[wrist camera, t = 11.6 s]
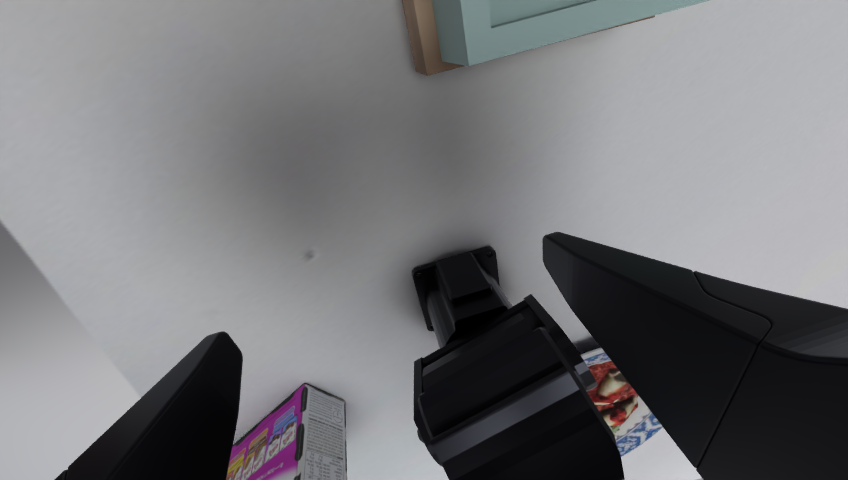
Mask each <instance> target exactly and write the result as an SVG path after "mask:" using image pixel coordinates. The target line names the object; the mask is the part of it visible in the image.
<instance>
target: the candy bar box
mask: <svg viewBox="0 0 848 480" xmlns="http://www.w3.org/2000/svg"><path fill="white" fill-rule="evenodd" d="M226 480H347V458H346V413H345V401H343V400H342V399H340V398H338V397H336V396H334V395H330V394H328V393H325V392H323V391H321V390H319V389H316V388H314V387H312V386H309V385H307V384H304V385H302V386H301V387H300V388H299V389H298V390H296V391H295V392H294V393H293V394H292V395H291V396H290V397H289V398H287V399H286V400H285V401H284V402H283V403H282V404H281V405H280V406H278V407H277V408H276V409H275V410H274V411H273V412H272V413H271V414H270V415H268V416H267V417H266V418H265V419H264V420H263V421H262V422H261V423H259V424H258V425H257V426H256V427H255V428H254V429H253V430H252V431H250V432H249V433H248V434H247V435H246V436H245V437H243V438H242V439H241V440H240V441H239V442H238V443H237V444H236V445H234V446H233V447H232V451H231V457H230V462H229V467H228V473H227V478H226Z"/></svg>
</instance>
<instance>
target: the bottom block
mask: <svg viewBox="0 0 848 480" xmlns="http://www.w3.org/2000/svg"><path fill="white" fill-rule="evenodd" d="M402 2H403V7H404V12H405V17H406V22H407V27H408V32H409V38H410V43H411V48H412V53H413V58H414V63H415V68H416V71H417V72H419V73H422V74H425V75H431V74H435V73H439V72H443V71H447V70H450V69H454V68H458V67H462V66H465V65H459V64H454V63H448V62H442V58H441V52H440V46H439V40H438V35H437V29H436V23H435V17H434V11H433V5H432V0H402ZM653 17H655V15H654V16H651V17H647V18H643V19H640V20H636V21H632V22H629V23H625V24H621V25H618V26H622V25H626V24H630V23H633V22H637V21H641V20H645V19H649V18H653ZM618 26H614V27H618ZM614 27H610V28H614ZM610 28H607V29H610ZM603 30H606V29H603ZM599 31H602V30H599ZM596 32H598V31H596ZM592 33H594V32H592ZM588 34H591V33H588ZM585 35H587V34H585ZM581 36H583V35H581ZM577 37H579V36H577ZM574 38H575V37H574ZM570 39H571V38H570Z"/></svg>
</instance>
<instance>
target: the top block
mask: <svg viewBox="0 0 848 480" xmlns="http://www.w3.org/2000/svg"><path fill="white" fill-rule="evenodd" d="M705 1H709V0H432V5H433V11H434V17H435V23H436V29H437V35H438V40H439V46H440V52H441V58H442V62H448V63H454V64H459V65H465V66H471V65H475V64H479V63H482V62H486V61H490V60H493V59H497V58H501V57H504V56H508V55H512V54H515V53H519V52H523V51H526V50H530V49H534V48H537V47H541V46H545V45H548V44H552V43H556V42H559V41H563V40H567V39H570V38H574V37H577V36H581V35H585V34H588V33H592V32H596V31H599V30H603V29H607V28H610V27H614V26H618V25H621V24H625V23H629V22H632V21H636V20H640V19H643V18H647V17H651V16H654V15H658V14H662V13H665V12H669V11H673V10H676V9H680V8H684V7H687V6H691V5H694V4H698V3H702V2H705Z"/></svg>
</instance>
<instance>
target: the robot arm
mask: <svg viewBox="0 0 848 480" xmlns="http://www.w3.org/2000/svg"><path fill="white" fill-rule="evenodd" d="M489 252H491V253H490V254H489V255H487V253H489ZM543 262H544V265H545V267H546V269H547V270H548V272H549V274H550V275H551V277H552V279H553V280H554V282H555V284H556V285H557V287H558V289H559V290H560V292H561V293H562V295H563V297H564V298H565V300H566V302H567V303H568V305H569V306H570V308H571V309H572V311H573V312H574V313H575V315H576V316H577V317H578V319H579V320H580V321H581V322H582V324H583V325H584V326H585V328H586V329H587V330H588V331H589V333H590V334H591V335H592V337H593V338H594V339H595V340H596V342H597V343H598V344H599V345H600V347H601V348H602V349H603V351H604V352H605V353H606V354H607V356H608V357H609V358H610V360H611V361H612V362H613V363H614V365H615V366H616V367H617V369H618V370H619V371H620V372H621V374H622V375H623V376H624V378H625V379H626V380H627V381H628V383H629V384H630V385H631V387H632V388H633V389H634V390H635V392H636V393H637V394H638V396H639V397H640V398H641V399H642V401H643V402H644V403H645V405H646V406H647V407H648V408H649V410H650V411H651V412H652V413H653V415H654V416H655V417H656V419H657V420H658V421H659V422H660V424H661V425H662V426H663V428H664V429H665V430H666V431H667V433H668V434H669V435H670V437H671V438H672V439H673V440H674V442H675V443H676V444H677V446H678V447H679V448H680V449H681V451H682V452H683V453H684V455H685V456H686V457H687V458H688V460H689V461H690V462H691V464H692V465H693V466H694V467H695V468H697V469H696V470H697V472H698V473H699V474H700V475H701V477H702V478H703V479H704V480H848V309H846V308H842V307H837V306H833V305H829V304H824V303H820V302H816V301H811V300H807V299H803V298H798V297H794V296H790V295H785V294H781V293H777V292H773V291H768V290H764V289H760V288H756V287H752V286H748V285H744V284H740V283H736V282H732V281H729V280H725V279H721V278H718V277H714V276H711V275H707V274H704V273H700V272H697V271H694V272H693V271H692V270H690V269H686V268H683V267H679V266H676V265H672V264H669V263H665V262H662V261H658V260H655V259H651V258H648V257H644V256H641V255H637V254H634V253H630V252H627V251H623V250H620V249H616V248H613V247H609V246H606V245H603V244H599V243H596V242H592V241H589V240H585V239H582V238H578V237H575V236H571V235H568V234H564V233H561V232H554V233H551V234H548V235H545V236H544V237H543ZM418 273H422V274H421V275H418V276H417V274H418ZM412 276H413V280H414V283H415V287H416V290H417V294H418V297H419V301H420V304H421V308H422V311H423V315H424V318H425V322H426V325H427V329H428V330H429V331H435V334H436V337H437V340H438V344H439V347H440V349H438V350H437V351H435V352H433V353H431V354H430V355H428V356H426V357H425V358H420V359H418V360H416V361H414V421H415V424H416V426H417V428H418V431H417V433H418V437H419V439H420V440H421V441H422V442H423V443H425V445H426V447H427V449H428V451H429V452H430V454H431V456H432V457H433V458H434V460H435V461H436V462H437V463H438V464H439V465H440V466H442V467H443V468H444V470H445V472H446V474H447V476H448V478H449V480H624V473H623V467H622V461H621V456H620V452H619V450H618V448H617V446H616V440H615V436H614V434H613V432H612V430H611V429H610V427H609V426H608V424H607V423H606V421H605V419H604V418H603V416H602V415H601V413H600V412H599V410H598V409H597V407H596V406H595V404H594V402H593V401H592V399H591V398H590V396H589V395H588V393H587V391H590V390H591V389H593V388H595V387H597V386H598V385H597V382H596V380H595V378H594V376H593V374H592V373H591V371H590V369H589V368H588V366H587V365H586V363H585V361H584V360H583V358H582V357H581V355H580V354H579V352H578V351H577V349H576V348H575V346H574V345H573V344H572V342H571V341H570V339H569V338H568V337H567V335H566V334H565V333H564V331H563V330H562V329H561V328H560V326H559V325H558V324H557V323H556V322H555V321H554V320H553V318H552V317H551V316H550V315H549V314H548V313H547V312H546V310H545V309H544V308H543V307H542V306H541V305H540V304H539V302H538V301H537V300H536V299H535V298H534V297H533V296H532V294H530V295H529V296H527V297H525V298H524V300H523V301H522V302H520V303H518V304H516V305H515V306H513V307H512V305H511V304H510V302H509V301H508V299H507V297H506V296H505V294H504V293H503V291H502V290H501V288H500V287H499V277H498V268H497V259H496V252H495V250H494V249H493V248H492V247H485V248H481V249H478V250H475V251H471V252H467V253H463V254H460V255H457V256H453V257H450V258H446V259H443V260H440V261H437V262H434V263H431V264H427V265H424V266H421V267H417V268H415V269H414V270H413V271H412ZM431 325H433V326H431ZM242 362H243V357H242V353H241V351H240V349H239V348H238V346H237V345H236V344H235V343H234V341H233V340H232V339H231V337H230V336H229V335H228V334H227V333H226V332H218V333H215V334H211V335H208V336H207V337H205V338H204V339H203V340H202V341H201V342H200V343H199V344H198V345H197V346H196V347H195V348H194V349H193V350H192V351H190V352H189V353H188V354H187V355H186V356H185V357H184V358H183V359H182V360H181V361H180V362H179V363H178V364H177V365H176V366H175V367H174V368H172V369H171V370H170V371H169V372H168V373H167V374H166V375H165V376H164V377H163V378H162V379H161V380H160V381H159V382H158V383H157V384H156V385H154V386H153V387H152V388H151V389H150V390H149V391H148V392H147V393H146V394H145V395H144V396H143V397H142V398H141V399H140V400H139V401H138V402H136V403H135V405H134V406H132V407H131V408H130V409H129V410H128V411H127V412H126V413H125V414H124V415H123V416H122V417H121V418H120V419H118V420H117V421H116V422H115V423H114V424H113V425H112V426H111V427H110V428H109V429H108V430H107V431H106V432H105V433H104V434H103V435H102V436H100V437H99V438H98V439H97V440H96V441H95V442H94V443H93V444H92V445H91V446H90V447H89V448H88V449H87V450H86V451H85V452H84V453H82V454H81V455H80V456H79V457H78V458H77V459H76V460H75V461H74V462H73V463H72V464H71V465H70V466H69V467H68V470H65V471H63V472H62V473H61V474H60V475H59V476H58V477H57V478H56V479H55V480H226V478H227V473H228V467H229V462H230V457H231V451H232V446H233V441H234V435H235V430H236V425H237V419H238V412H239V403H240V389H241V376H242Z"/></svg>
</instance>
